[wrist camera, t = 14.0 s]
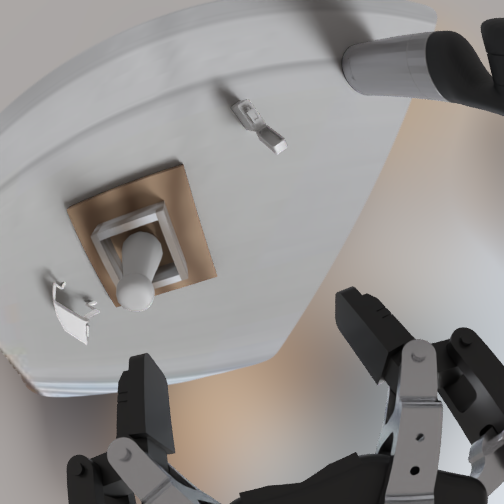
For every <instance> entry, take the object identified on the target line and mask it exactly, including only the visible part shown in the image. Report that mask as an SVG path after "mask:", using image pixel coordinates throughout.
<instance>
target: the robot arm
mask: <svg viewBox="0 0 504 504" xmlns="http://www.w3.org/2000/svg"><path fill="white" fill-rule="evenodd" d="M481 33H482V38H483V41H484V45H485V49H486V52H487V53H488V54H487V56H488V60H489V64H490V69H491V73H492V76H491V75H490V74H489V72H488V71H487V70H486V68H485V67H484V66H483V64H482V62H481V61H480V59H479V57H478V55H477V54H476V52H475V51H474V49H473V47H472V46H471V45H470V44H469V42H468V41H467V40H466V39H465V38H464V37H463V36H461V35H460V34H458V33H456V32H452V31H436V32H425V33H417V34H409V35H402V36H396V37H390V38H385V39H380V40H375V41H370V42H365V43H361V44H356V45H353V46H351V47H349V48H348V49H347V50H346V52H345V53H344V56H343V61H342V66H343V72H344V75H345V77H346V79H347V81H348V83H349V84H350V85H351V86H352V87H353V88H354V89H355V90H356V91H357V92H359V93H361V94H364V95H376V96H395V97H409V98H420V99H430V100H438V101H446V102H452V103H458V104H462V105H466V106H469V107H473V108H478V109H482V110H486V111H489V112H493V113H496V114H499V115H502V116H504V18H494V19H489V20H486V21H484V22H483V23H482V25H481ZM335 304H336V305H335V319H336V324H337V326H338V329H339V330H340V332H341V333H342V335H343V336H344V338H345V339H346V340H347V342H348V343H349V345H350V346H351V347H352V349H353V350H354V352H355V353H356V355H357V356H358V358H359V359H360V360H361V362H362V363H363V365H364V366H365V368H366V369H367V370H368V372H369V373H370V375H371V376H372V378H373V379H374V381H375V382H376V383H377V385H380V384H381V383H383V382H385V381H386V382H387V384H388V385H389V387H388V394H387V402H386V409H385V416H384V422H383V427H382V431H381V433H380V437H379V440H378V444H377V448H376V453H375V454H367V455H360V456H358V455H357V453H356V452H355V453H353V454H351V455H349V456H347V457H345V458H342V459H340V460H338V461H336V462H334V463H331V464H329V465H327V466H326V467H325V468H323V469H322V470H320V471H319V472H317V473H316V474H314V475H313V476H311V477H310V478H308V479H307V480H305V481H303V482H301V483H295V484H284V485H272V486H265V487H262V488H258V489H254V490H250V491H245V492H241V493H239V494H240V498H238V499H236V500H234V501H233V502H231V503H230V504H487V502H488V496H489V495H490V494H491V493H492V492H493V491H494V490H495V489H496V488H498V487H499V486H500V485H501V484H502V482H504V366H503V365H502V363H501V362H500V361H499V360H498V359H497V357H496V356H495V355H494V353H493V352H492V351H491V350H490V349H489V348H488V346H487V345H486V344H485V343H484V342H483V341H482V339H481V338H480V337H479V336H478V335H477V334H476V333H475V332H474V331H473V330H471V329H469V328H458V329H456V330H455V331H454V332H453V334H452V336H451V338H450V339H448V340H445V341H440V342H437V343H432V344H430V343H429V342H427V341H425V340H421V339H415V338H414V337H413V336H412V335H411V334H410V333H409V332H408V331H407V330H406V329H405V327H404V326H403V325H402V324H401V323H400V322H399V321H398V320H397V319H396V318H395V317H394V316H393V315H392V314H391V312H390V311H389V310H388V309H387V308H385V306H384V305H383V304H382V303H381V302H380V301H379V300H378V299H377V298H375V297H373V296H371V295H369V294H364V295H361V293H360V292H359V291H358V290H357V289H356V288H355V287H350V288H347V289H345V290H342V291H340V292H337V293H336V299H335ZM437 391H438V393H439V394H440V396H441V397H442V399H443V400H444V402H445V403H446V405H447V406H448V408H449V409H450V411H451V412H452V414H453V416H454V417H455V419H456V420H457V422H458V423H459V425H460V426H461V428H462V430H463V431H464V433H465V435H466V437H467V438H468V440H469V441H470V443H471V445H472V446H471V448H470V452H469V457H468V460H469V462H470V463H471V465H472V470H471V474H470V476H466V475H460V474H455V473H450V472H446V471H441V470H437V469H438V462H439V454H440V446H441V434H442V418H443V407H442V406H443V405H442V402H441V401H438V399H437ZM117 402H118V404H117V437H116V440H114V441H113V442H112V443H111V444H110V445H109V447H108V450H107V452H106V453H103V454H101V455H99V456H96V457H94V458H91V459H89V458H87V457H85V456H83V455H76V456H73V457H72V458H71V459H70V460H69V462H68V464H67V488H68V500H69V504H136V501H135V496H134V493H135V495H136V496H137V497H138V498H139V499H140V500H141V502H142V504H221V503H219V502H218V501H216V500H215V499H214V498H212V497H211V496H209V495H207V494H205V493H204V492H202V491H201V490H199V489H198V488H197V487H196V486H194V485H193V484H192V483H191V482H189V481H188V480H187V479H186V478H185V477H184V476H183V475H181V474H180V473H179V472H178V471H177V470H175V468H174V467H172V466H171V465H170V464H169V463H168V461H167V454H173V453H175V448H174V441H173V433H172V425H171V416H170V407H169V396H168V385H167V381H166V378H165V376H164V374H163V373H162V371H161V370H160V369H159V367H158V366H157V365H156V363H155V362H154V360H153V359H152V358H151V356H150V355H149V354H148V353H145V354H141V355H137V356H132V357H130V359H129V370H128V371H123V373H122V376H121V378H120V380H119V382H118V401H117Z"/></svg>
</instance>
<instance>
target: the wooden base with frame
mask: <svg viewBox="0 0 504 504" xmlns="http://www.w3.org/2000/svg"><path fill="white" fill-rule="evenodd" d="M67 212H68V214H69V217H70V219H71V221H72V224H73V226H74V228H75V231H76V233H77V235H78V237H79V239H80V241H81V243H82V246H83V248H84V250H85V252H86V254H87V256H88V258H89V260H90V262H91V264H92V265H93V267H94V269H95V271H96V273H97V275H98V277H99V279H100V280H101V282H102V284H103V286H104V288H105V289H106V291H107V293H108V295H109V296H110V298H111V300H112V301H113V303H114V305H115V306H116V307H119V306H121V305H120V304H119V303H118V300H117V297H116V289H117V284H118V282H119V281H120V280H121V278H122V277H123V265H122V247H123V243H124V241H125V240H126V239H127V238H128V237H129V236H130V235H132V234H134V233H136V232H140V231H142V232H148V233H150V234H152V235H154V236H155V237H156V238H157V239H158V241H159V242H160V243H161V247H162V252H163V255H162V258H161V261H160V263H159V266H158V268H157V270H156V272H155V275H154V277H153V280H152V284H153V287H154V291H155V295H159V294H162V293H165V292H169V291H172V290H175V289H178V288H182V287H185V286H188V285H191V284H195V283H198V282H201V281H204V280H208V279H211V278H214V277H217V274H216V270H215V267H214V264H213V261H212V258H211V255H210V252H209V249H208V246H207V242H206V239H205V236H204V233H203V230H202V226H201V223H200V220H199V217H198V213H197V210H196V207H195V203H194V200H193V197H192V193H191V190H190V186H189V183H188V179H187V176H186V172H185V169H184V165H183V164H182V165H178V166H175V167H172V168H169V169H166V170H163V171H160V172H157V173H154V174H151V175H148V176H145V177H142V178H139V179H137V180H134V181H131V182H129V183H126V184H123V185H121V186H118V187H115V188H113V189H110V190H108V191H105V192H103V193H100V194H98V195H96V196H93V197H91V198H88V199H86V200H84V201H82V202H79V203H77V204H75V205H73V206H70V207H69V208H68V209H67ZM155 295H154V296H155Z"/></svg>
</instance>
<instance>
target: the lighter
mask: <svg viewBox="0 0 504 504" xmlns="http://www.w3.org/2000/svg"><path fill="white" fill-rule="evenodd" d="M231 109H232V110H233V112H234V113H235V114H236V116H237V117H238V118H239V120H240V121H241V123H242V124H243V125H244V127H245V128H246V130H251V131H255V132H256V133H257V135H258V137H259V139H260V140H261V141H262V142H263V143H264V144H265V145H266V146H268V147H269V148H270V149H271V150H272V151H273V152H274V153H275V154H279V153H280V152H282V151H283V150H285V149H286V148H287V147H288V145H287V143H286V141H285V138H283V137H282V136H281V135H280V134H278V133H277V132H276V131H274V130H273V129H272V128H270V127H269V126H268V125H267V126H266V123H265V121H264V120H263V118H262V117H261V116H260V114H259V113H258V111H257V110H256V108H255V107H254V105H253V104H252V103H251V101H250V100H249V99H246V100H242V101H239V102H237V103H236V104H234V105H233V106H231Z"/></svg>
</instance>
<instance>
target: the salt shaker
mask: <svg viewBox="0 0 504 504" xmlns="http://www.w3.org/2000/svg"><path fill="white" fill-rule="evenodd" d="M162 255H163V252H162V247H161V243H160V242H159V241H158V239H157V238H156V237H155V236H154V235H152V234H150V233H148V232H142V231H140V232H136V233H134V234H132V235H130V236H129V237H128V238H127V239H126V240H125V241H124V243H123V247H122V265H123V277H122V278H121V280H120V281H119V282H118V284H117V289H116V297H117V300H118V303H119V304H120V305H121V306H122V307H123V308H125V309H127V310H129V311H134V312H140V311H143V310H146V309H148V308H149V307H150V306H151V305H152V302H153V298H154V295H155V291H154V287H153V284H152V280H153V277H154V275H155V272H156V270H157V268H158V266H159V263H160V261H161V258H162Z"/></svg>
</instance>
